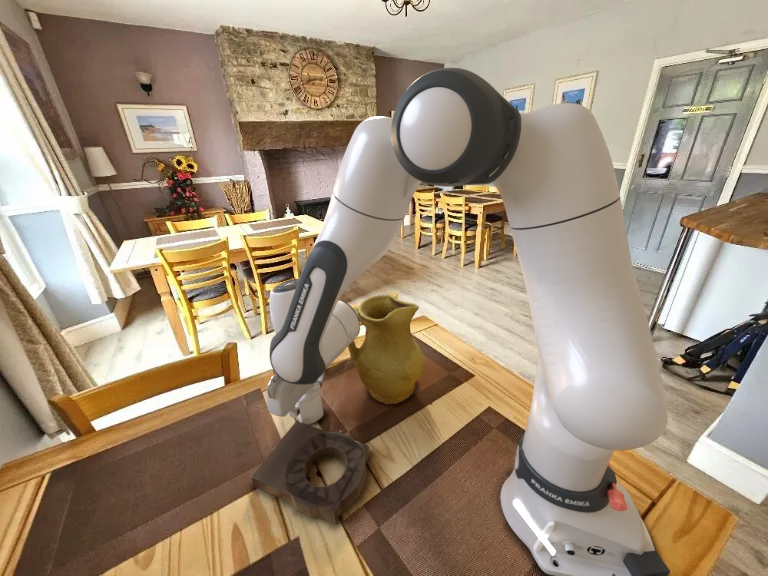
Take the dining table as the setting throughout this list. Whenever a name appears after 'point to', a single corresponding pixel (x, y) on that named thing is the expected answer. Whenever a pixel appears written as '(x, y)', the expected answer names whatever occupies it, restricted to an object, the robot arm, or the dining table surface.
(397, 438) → the dining table surface
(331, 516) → the grey ring plate
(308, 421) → the eye dropper bottle
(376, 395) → the pitcher
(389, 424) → the dining table surface
